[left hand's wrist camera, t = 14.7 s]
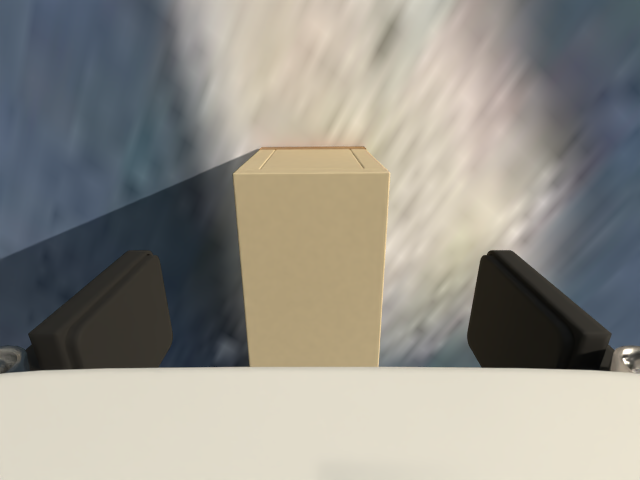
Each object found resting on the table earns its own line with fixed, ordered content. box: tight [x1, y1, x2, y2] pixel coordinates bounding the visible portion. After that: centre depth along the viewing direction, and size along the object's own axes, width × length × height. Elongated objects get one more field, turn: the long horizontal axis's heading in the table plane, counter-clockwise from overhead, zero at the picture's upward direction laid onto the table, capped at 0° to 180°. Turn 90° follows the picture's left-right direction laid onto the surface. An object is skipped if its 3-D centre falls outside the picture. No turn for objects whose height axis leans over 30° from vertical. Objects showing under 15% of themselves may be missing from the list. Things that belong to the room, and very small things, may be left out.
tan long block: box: [233, 147, 390, 367], centre depth 21 cm, size 22×6×8 cm, turn 0°
